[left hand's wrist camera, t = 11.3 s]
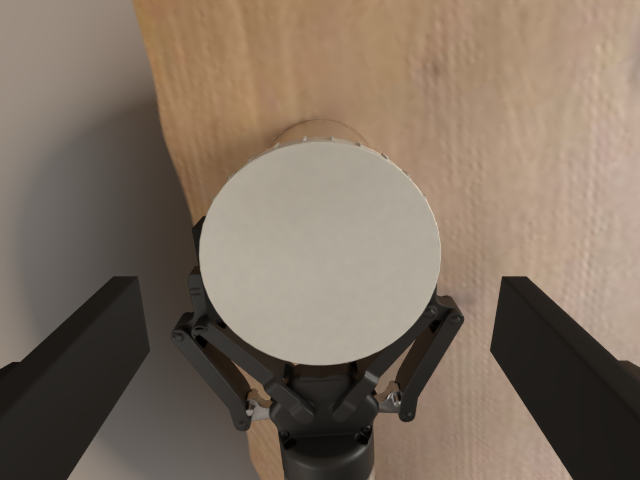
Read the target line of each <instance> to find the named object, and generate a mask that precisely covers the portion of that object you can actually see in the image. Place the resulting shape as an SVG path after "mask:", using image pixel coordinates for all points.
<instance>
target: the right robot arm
mask: <svg viewBox="0 0 640 480" xmlns="http://www.w3.org/2000/svg"><path fill="white" fill-rule="evenodd" d="M205 218H206V216H203V217H202V218H201V219H200V220H199V222H198V223H197V224H196V225H195V226H194V227H193V228H192V232H193V238H194V243H195V248H196V254H197V259H198V264H199V266H195V267H194V269H193V270H192V272H191V273H190V275H189V279H188V284H189V289H190V294H191V299H192V304H193V309H194V312H192V313H191V312H186V313H184V314H183V315H182V316H181V318H180V320H179V321H178V323H177V325H176V326H175V328H174V330H173V331H172V333H171V340H172V341H173V343H174V344H175V345H176V346H177V347H178V348H179V350H180V351H181V352H182V353H183V355H184V356H185V357H186V358H187V359H188V360H189V362H190V363H191V364H192V365H193V366H194V368H195V369H196V370H197V371H198V372H199V374H200V375H201V376H202V377H203V378H204V380H205V381H206V382H207V383H208V384H209V386H210V387H211V388H212V389H213V390H214V392H215V393H216V394H217V395H218V396H219V398H220V399H221V400H222V401H223V402H224V404H225V405H226V406H227V407H228V408H229V411H230V414H231V417H232V420H233V423H234V426H235V428H236V429H237V430H239V431H246V430H248V429H249V428H250V424H251V421H257V420H263V419H271V421H272V422H273V423H274V424H275V425H276V427H277V429H278V435H279V442H280V450H281V457H282V464H283V470H284V479H285V480H375V465H374V436H373V421H374V419H375V417H376V416H377V414H378V412H380V413H398V415H399V418H400V420H401V421H403V422H410V421H412V420H413V419H414V417H415V413H416V406H417V399H418V397H419V395H420V393H421V392H422V390H423V388H424V387H425V385H426V383H427V382H428V380H429V378H430V377H431V375H432V373H433V372H434V370H435V369H436V367H437V365H438V364H439V362H440V360H441V359H442V357H443V355H444V354H445V352H446V350H447V349H448V347H449V345H450V344H451V342H452V340H453V339H454V337H455V335H456V334H457V332H458V330H459V329H460V327H461V325H462V324H463V322H464V316H463V315H462V313H461V311H460V310H459V308H458V306H457V305H456V303H455V302H454V300H453V299H452V297H450V296H442V297H441V296H437V295H436V294H437V283H436V286H435V289H434V291H433V294H432V296H431V299H430V301H429V303H428V304H427V306H426V308H425V309H424V311H423V313H422V314H421V315H420V317H419V318H418V319H417V321H416V322H415V323H414V324H413V325H412V326H411V327H410V328H409V329H408V330H407V331H406V332H405V333H404V334H403V335H402V336H401V337H400V338H398V339H397V340H396V341H394V342H393V343H392V344H390V345H388V346H387V347H385V348H383V349H382V350H380V351H378V352H376V353H374V354H371V355H369V356H367V357H364V358H361V359H358V360H355V361H351V362H348V363H341V364H333V365H307V364H298V365H296V366H295V365H293V364H292V363H291V362H289V361H285V360H282V359H279V358H276V357H273V356H271V355H268V354H266V353H264V352H262V351H260V350H258V349H256V348H255V347H253V346H252V345H250V344H249V343H247V342H245V341H244V340H243V339H242V338H240V337H239V336H238V335H237V334H236V333H234V332H233V331H232V329H231V328H230V327H229V326H228V325H227V324H226V323H225V322H224V321H223V319H222V318H221V317H220V315H219V314H218V313H217V311H216V310H215V308H214V306H213V304H212V302H211V301H210V299H209V297H208V294H207V291H206V289H205V286H204V283H203V279H202V275H201V271H200V261H199V246H200V237H201V232H202V227H203V223H204V221H205ZM415 339H416V340H415ZM414 340H415V342H414V344H413V345H412V347H411V349H410V351H409V352H408V354H407V356H406V358H405V359H404V361H403V363H402V365H401V366H400V368H399V370H398V373H397V376H396V380H395V381H390V382H389V386H388V387H387V389H386V391H385V392H383V393H381V394H377V393H376V391H375V390H374V388H375V387H376V386H377V384H378V380H379V378H380V377H381V375H382V374H383V373H384V372H385V371H386V370H387V369H388V368H389V367H390V366H391V365H392V364H393V363H394V362H395V361H396V359H397V358H398V357H399V356H400V355H401V354H402V353H403V352H404V351H405V350H406V349H407V348H408V347H409V346H410V345H411V343H412V342H413V341H414ZM231 360H232V361H233V362H235V363H236V364H237V365H238V366H240V367H241V368H242V369H243V370H245V371H246V372H247V373H248V374H250V375H251V376H252V377H253V378H255V379H256V380H257V381H258V382H260V383H261V384H262V385H263V387H264V390H265V392H266V393H267V394H268V395H269V396H270V397H271V399H270V400H264V399H262V398H261V397H260V395H259V394H258V391H257V390H256V389H251V388H250V386H249V384H248V382H247V380H246V379H245V377H244V376H243V375H242V373H241V372H240V371H239V370H238V368H237V367H236V366H235V364H234V363H233V362H232V361H231ZM283 378H284V380H283Z"/></svg>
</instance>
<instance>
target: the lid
mask: <svg viewBox="0 0 640 480" xmlns="http://www.w3.org/2000/svg"><path fill="white" fill-rule="evenodd" d="M248 161H249V162H247V163H246V164H245V165H243V166H242V167H241V168H240V169H239V170H238V171H237V172H236V173H235V172H233V173H232V174H231V175H230V176H229V177H228V178H227V179H228V180H229V181H228V182H227V183H226V184H225V185H224V186H223V187H222V189H221V190H220V192H219V193H218V194H217V195H216V196H215V197H214V198H213V200H212V201H213V203H212V204H211V206H210V208H209V210H208V212H207V215H206V218H205V221H204V223H203V227H202V232H201V237H200V246H199V261H200V271H201V275H202V279H203V283H204V286H205V289H206V291H207V294H208V297H209V299H210V301H211V302H212V304H213V306H214V308H215V310H216V311H217V313H218V314H219V315H220V317H221V318H222V319H223V321H224V322H225V323H226V324H227V325H228V326H229V327H230V328H231V329H232V331H233V332H234V333H236V334H237V335H238V336H239V337H240V338H242V339H243V340H244V341H245V342H247V343H249V344H250V345H252V346H253V347H255V348H256V349H258V350H260V351H262V352H264V353H266V354H268V355H271V356H273V357H276V358H279V359H282V360H285V361H289V362H294V363H299V364H307V365H333V364H341V363H346V362H351V361H355V360H358V359H361V358H364V357H367V356H369V355H371V354H374V353H376V352H378V351H380V350H382V349H383V348H385V347H387V346H388V345H390V344H392V343H393V342H394V341H396V340H397V339H398V338H400V337H401V336H402V335H403V334H404V333H405V332H406V331H407V330H408V329H409V328H410V327H411V326H412V325H413V324H414V323H415V322H416V321H417V319H418V318H419V317H420V315H421V314H422V313H423V311H424V309H425V308H426V306H427V304H428V303H429V301H430V299H431V296H432V294H433V291H434V289H435V286H436V283H437V279H438V275H439V270H440V261H441V244H440V238H439V231H438V227H437V224H436V220H435V218H434V215H433V213H432V210H431V208H430V206H429V204H428V202H427V200H426V196H425V195H424V194H423V193H422V192H421V191H420V190H419V189H418V187H417V186H416V185H415V184H414V183H413V182H412V181H411V179H410V178H409V177H410V175H409V174H408V173H407V172H406V171H405V170H403V171H402V170H401V169H400V168H399V167H398V166H396V165H395V164H394V163H393V162H392V161H390V160H389V158H388V157H387V156H386V155H385V154H384V153H382V155H381V154H380V153H378V152H377V151H375V150H373V149H370V148H368V147H366V146H364V145H362V143H361V142H359V141H358V143H355V142H351V141H348V140H343V139H337V138H334V136H331V138H330V137H311V138H306V136H303V138H302V139H296V140H292V141H289V142H285V143H281V144H279V142H278V143H276V144H275V146H274V147H272V148H269V149H267V150H265V151H264V152H262V153H260V154H259V155H257V156H255V155H253V156H252V157H251V158H250V159H249V160H248Z"/></svg>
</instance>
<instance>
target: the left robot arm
mask: <svg viewBox="0 0 640 480" xmlns="http://www.w3.org/2000/svg"><path fill="white" fill-rule="evenodd" d="M149 351H150V348H149V342H148V336H147V329H146V323H145V317H144V311H143V305H142V299H141V293H140V287H139V280H138V277H137V276H136V277H135V276H132V277H131V276H124V277H123V276H121V277H120V276H114V277H112V278H111V279H110V280H109V281H108V282H107V283H106V284H105V285H104V286H103V287H102V288H100V289H99V290H98V291H97V292H96V293H95V294H94V295H93V296H92V297H91V298H90V299H88V300H87V301H86V302H85V303H84V304H83V305H82V306H81V307H80V308H79V309H78V310H76V311H75V312H74V313H73V314H72V315H71V316H70V317H69V318H68V319H67V320H66V321H64V322H63V323H62V324H61V325H60V326H59V327H58V328H57V329H56V330H55V331H54V332H52V333H51V334H50V335H49V336H48V337H47V338H46V339H45V340H44V341H43V342H42V343H40V344H39V345H38V346H37V347H36V348H35V349H34V350H33V351H32V352H31V353H30V354H28V355H27V356H26V357H25V358H24V359H23V360H22V361H21V362H12V363H10V364H8V365H7V366H5V367H3V368H1V369H0V480H67V479H68V477H69V475H70V474H71V472H72V471H73V469H74V468H75V466H76V465H77V463H78V461H79V460H80V458H81V457H82V455H83V454H84V452H85V451H86V449H87V448H88V446H89V444H90V443H91V441H92V440H93V438H94V437H95V435H96V434H97V432H98V430H99V429H100V427H101V426H102V424H103V423H104V421H105V420H106V418H107V416H108V415H109V413H110V412H111V410H112V409H113V407H114V406H115V404H116V403H117V401H118V400H119V398H120V396H121V395H122V393H123V392H124V390H125V389H126V387H127V386H128V384H129V382H130V381H131V379H132V378H133V376H134V375H135V373H136V372H137V370H138V369H139V367H140V365H141V364H142V362H143V361H144V359H145V358H146V356H147V355H148V353H149ZM490 351H491V353H492V355H493V356H494V358H495V359H496V361H497V362H498V364H499V365H500V367H501V369H502V370H503V372H504V373H505V375H506V376H507V378H508V379H509V381H510V382H511V384H512V386H513V387H514V389H515V390H516V392H517V393H518V395H519V396H520V398H521V400H522V401H523V403H524V404H525V406H526V407H527V409H528V410H529V412H530V413H531V415H532V417H533V418H534V420H535V421H536V423H537V424H538V426H539V427H540V429H541V431H542V432H543V434H544V435H545V437H546V438H547V440H548V441H549V443H550V444H551V446H552V448H553V449H554V451H555V452H556V454H557V455H558V457H559V458H560V460H561V462H562V463H563V465H564V466H565V468H566V469H567V471H568V472H569V474H570V475H571V477H572V479H573V480H640V367H638V366H636V365H635V364H633V363H631V362H629V361H618V360H617V359H616V358H615V357H614V356H613V355H612V354H610V353H609V352H608V351H607V350H606V349H605V348H604V347H603V346H602V345H601V344H600V343H598V342H597V341H596V340H595V339H594V338H593V337H592V336H591V335H590V334H589V333H588V332H586V331H585V330H584V329H583V328H582V327H581V326H580V325H579V324H578V323H577V322H576V321H574V320H573V319H572V318H571V317H570V316H569V315H568V314H567V313H566V312H565V311H564V310H562V309H561V308H560V307H559V306H558V305H557V304H556V303H555V302H554V301H553V300H552V299H550V298H549V297H548V296H547V295H546V294H545V293H544V292H543V291H542V290H541V289H540V288H538V287H537V286H536V285H535V284H534V283H533V282H532V281H531V280H530V279H529V278H528V277H526V276H502V280H501V287H500V293H499V299H498V305H497V311H496V317H495V323H494V329H493V335H492V342H491V348H490Z"/></svg>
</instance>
